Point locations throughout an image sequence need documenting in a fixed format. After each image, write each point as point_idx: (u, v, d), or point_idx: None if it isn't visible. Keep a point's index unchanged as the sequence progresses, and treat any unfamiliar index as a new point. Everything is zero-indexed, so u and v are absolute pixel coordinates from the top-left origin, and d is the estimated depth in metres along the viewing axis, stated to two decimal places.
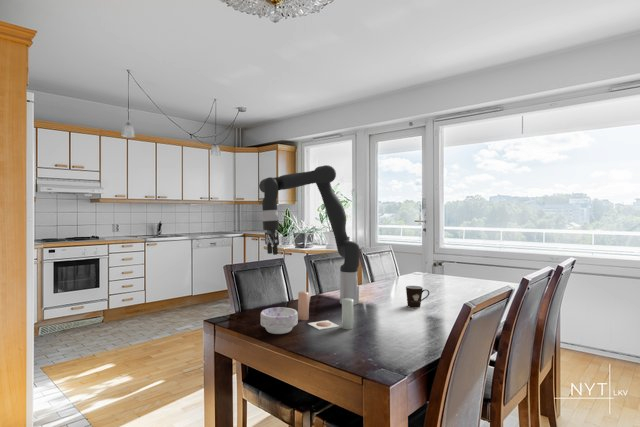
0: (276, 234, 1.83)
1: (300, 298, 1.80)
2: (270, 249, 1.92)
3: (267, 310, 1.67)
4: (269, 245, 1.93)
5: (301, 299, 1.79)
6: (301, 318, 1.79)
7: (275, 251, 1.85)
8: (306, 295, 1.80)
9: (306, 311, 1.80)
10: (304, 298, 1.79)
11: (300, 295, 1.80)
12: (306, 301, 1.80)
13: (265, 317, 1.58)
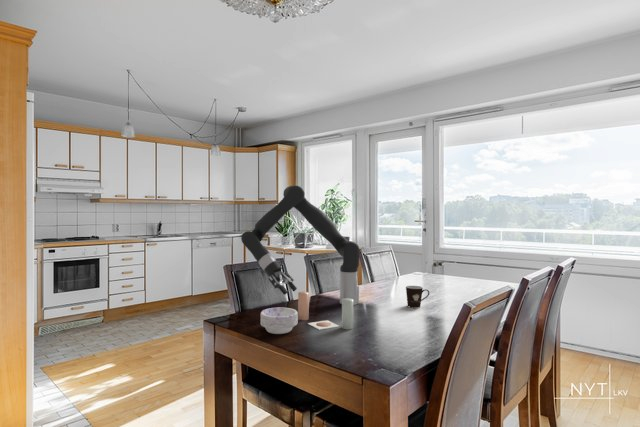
0: (271, 278, 1.81)
1: (300, 298, 1.80)
2: (292, 286, 1.88)
3: (267, 310, 1.67)
4: (289, 283, 1.89)
5: (301, 299, 1.79)
6: (301, 318, 1.79)
7: None
8: (306, 295, 1.80)
9: (306, 311, 1.80)
10: (304, 298, 1.79)
11: (300, 295, 1.80)
12: (306, 301, 1.80)
13: (265, 317, 1.58)
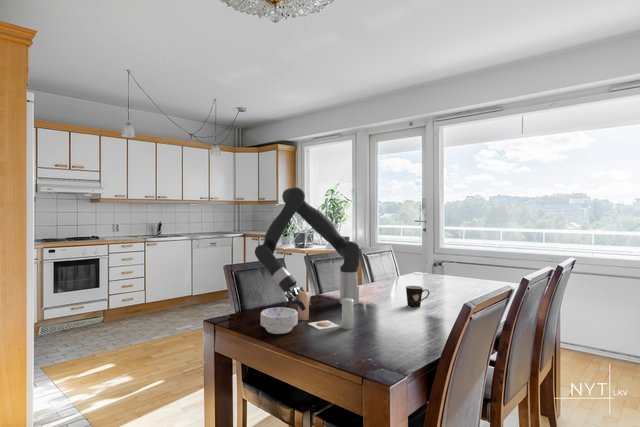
0: (288, 295, 1.77)
1: (300, 298, 1.80)
2: None
3: (267, 310, 1.67)
4: None
5: (301, 299, 1.79)
6: (301, 318, 1.79)
7: None
8: (306, 295, 1.80)
9: (306, 311, 1.80)
10: (304, 298, 1.79)
11: (300, 295, 1.80)
12: (306, 301, 1.80)
13: (265, 317, 1.58)
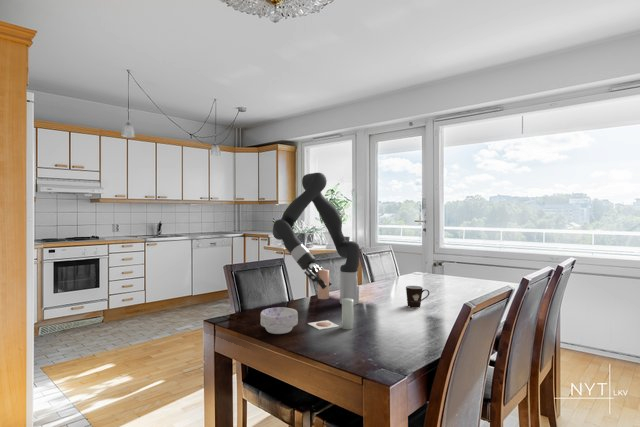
0: (308, 272, 1.68)
1: (320, 276, 1.70)
2: None
3: (267, 310, 1.67)
4: None
5: (321, 277, 1.70)
6: (321, 297, 1.70)
7: None
8: (326, 272, 1.70)
9: (326, 289, 1.70)
10: (325, 276, 1.69)
11: (320, 272, 1.70)
12: (326, 279, 1.70)
13: (265, 317, 1.58)
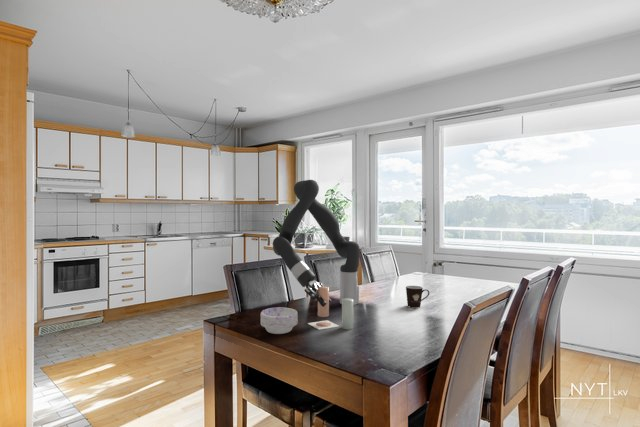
0: (308, 289, 1.67)
1: (320, 293, 1.70)
2: None
3: (267, 310, 1.67)
4: None
5: (321, 294, 1.70)
6: (321, 314, 1.69)
7: None
8: (326, 290, 1.70)
9: (326, 307, 1.70)
10: (325, 294, 1.69)
11: (320, 290, 1.70)
12: (326, 296, 1.70)
13: (265, 317, 1.58)
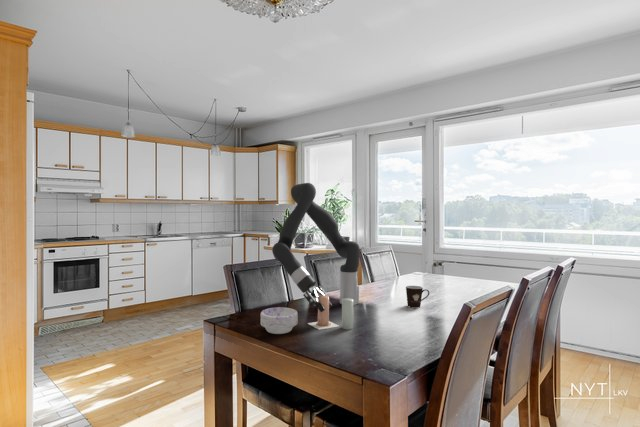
0: (306, 294, 1.68)
1: (320, 302, 1.70)
2: None
3: (267, 310, 1.67)
4: None
5: None
6: (321, 323, 1.70)
7: (320, 308, 1.68)
8: (326, 299, 1.70)
9: (326, 316, 1.70)
10: (325, 303, 1.69)
11: (320, 299, 1.70)
12: (326, 305, 1.70)
13: (265, 317, 1.58)
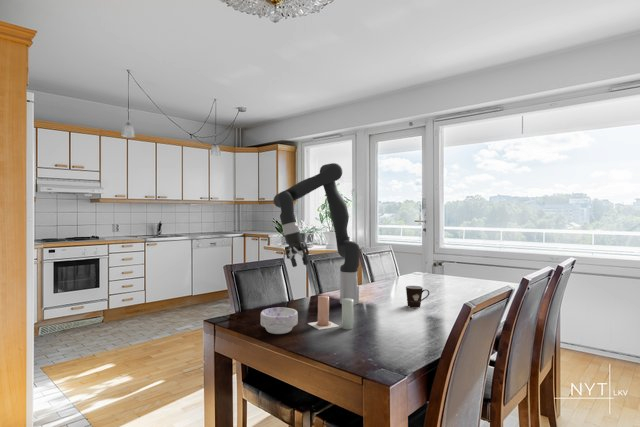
0: (304, 244, 1.85)
1: (320, 302, 1.70)
2: (294, 262, 1.92)
3: (267, 310, 1.67)
4: (293, 258, 1.92)
5: (321, 304, 1.69)
6: (321, 323, 1.70)
7: None
8: (326, 299, 1.70)
9: (326, 316, 1.70)
10: (325, 303, 1.69)
11: (320, 299, 1.70)
12: (326, 306, 1.70)
13: (265, 317, 1.58)
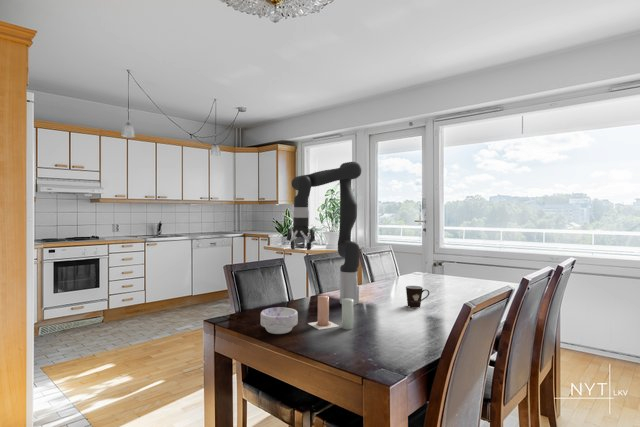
0: (313, 231, 1.92)
1: (320, 302, 1.70)
2: (293, 245, 1.97)
3: (267, 310, 1.67)
4: (293, 241, 1.97)
5: (320, 304, 1.70)
6: (321, 323, 1.70)
7: None
8: (326, 299, 1.70)
9: (326, 316, 1.70)
10: (324, 303, 1.69)
11: (320, 299, 1.70)
12: (326, 305, 1.70)
13: (265, 317, 1.58)
